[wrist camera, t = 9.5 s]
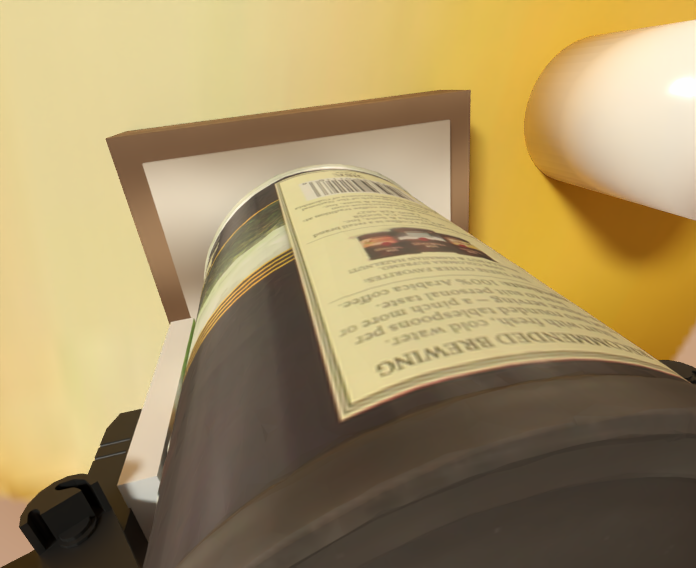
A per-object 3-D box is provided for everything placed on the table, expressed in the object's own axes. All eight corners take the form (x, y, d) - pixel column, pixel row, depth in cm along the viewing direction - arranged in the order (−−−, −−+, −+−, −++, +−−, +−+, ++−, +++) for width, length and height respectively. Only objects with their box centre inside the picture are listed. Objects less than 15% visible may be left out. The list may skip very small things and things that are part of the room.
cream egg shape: (529, 43, 20) (688, 16, 13) (658, 27, 21) (872, -5, 14) (519, 190, 23) (642, 236, 16) (632, 171, 24) (796, 206, 17)
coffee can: (269, 413, 20) (301, 926, 8) (153, 224, 16) (-220, 767, 3) (462, 329, 21) (784, 694, 8) (406, 120, 16) (966, 237, 4)
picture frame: (126, 131, 18) (103, 139, 15) (440, 90, 20) (473, 90, 17) (210, 392, 24) (205, 433, 21) (443, 340, 26) (468, 371, 23)
